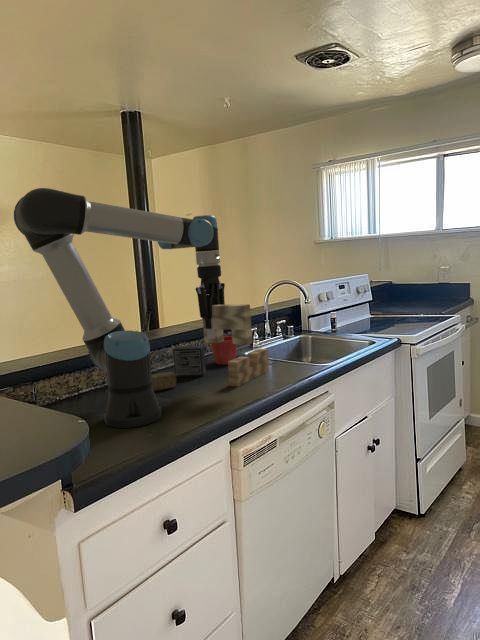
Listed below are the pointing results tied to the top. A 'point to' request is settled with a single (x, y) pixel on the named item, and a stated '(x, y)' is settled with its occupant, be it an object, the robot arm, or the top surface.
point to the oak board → (248, 367)
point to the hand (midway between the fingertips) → (214, 337)
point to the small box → (189, 361)
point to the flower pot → (224, 351)
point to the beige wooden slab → (231, 323)
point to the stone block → (163, 381)
